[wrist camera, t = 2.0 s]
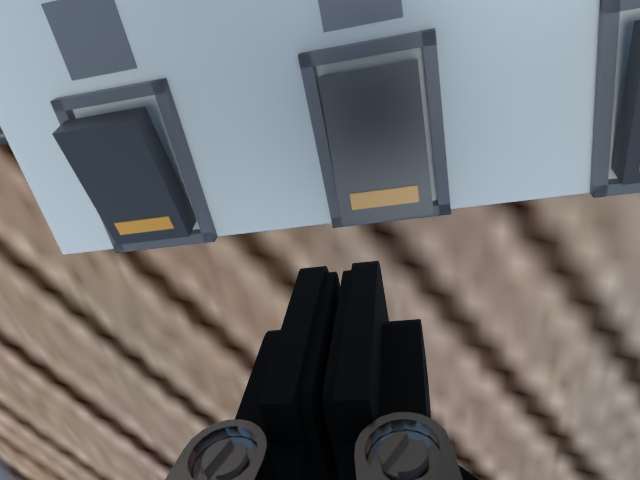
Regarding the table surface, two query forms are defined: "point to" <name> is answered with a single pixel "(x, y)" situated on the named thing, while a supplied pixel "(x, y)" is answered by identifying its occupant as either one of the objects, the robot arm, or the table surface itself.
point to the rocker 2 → (629, 118)
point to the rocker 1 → (127, 175)
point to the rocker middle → (378, 142)
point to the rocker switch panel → (314, 99)
